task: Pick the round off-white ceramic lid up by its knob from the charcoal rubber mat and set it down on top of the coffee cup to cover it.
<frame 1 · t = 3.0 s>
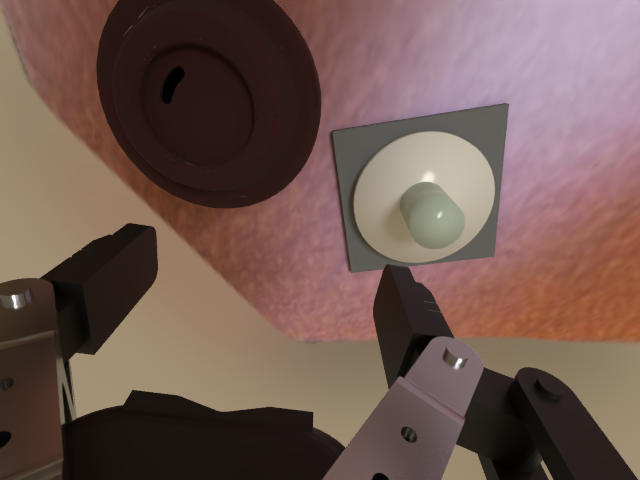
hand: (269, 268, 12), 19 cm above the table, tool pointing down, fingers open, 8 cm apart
coffee cup: (264, 88, 27), on the table
mat: (418, 197, 30), on the table
lid: (419, 199, 30), point 1 cm above the table, touching mat
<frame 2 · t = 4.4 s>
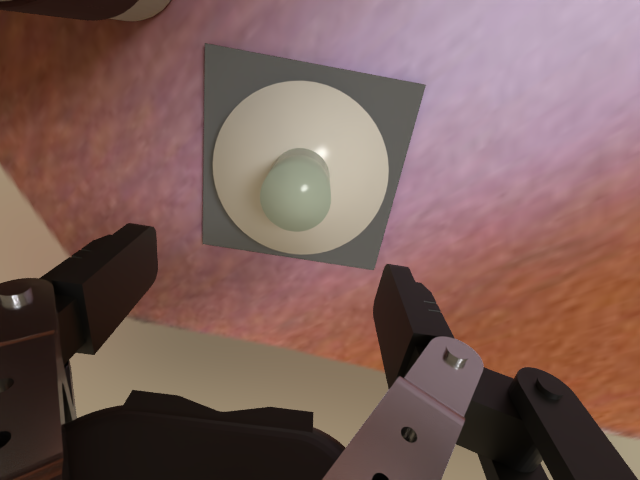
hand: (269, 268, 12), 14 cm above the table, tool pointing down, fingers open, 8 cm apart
mat: (302, 171, 24), on the table
lid: (301, 173, 24), point 1 cm above the table, touching mat
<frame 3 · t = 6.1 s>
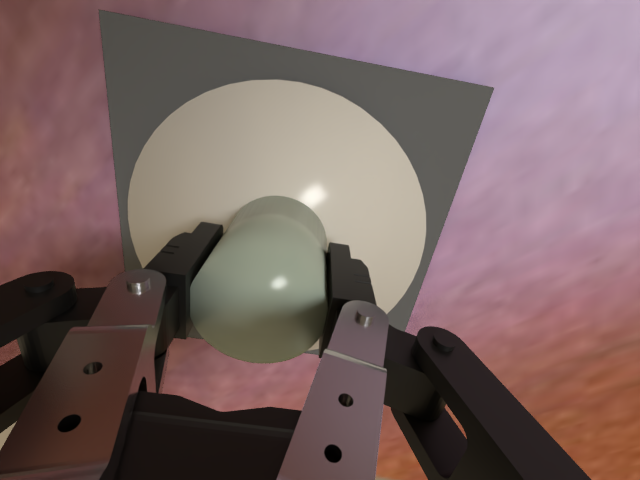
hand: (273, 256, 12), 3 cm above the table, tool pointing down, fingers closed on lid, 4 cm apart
mat: (282, 224, 15), on the table
lid: (281, 230, 15), point 1 cm above the table, touching gripper, mat
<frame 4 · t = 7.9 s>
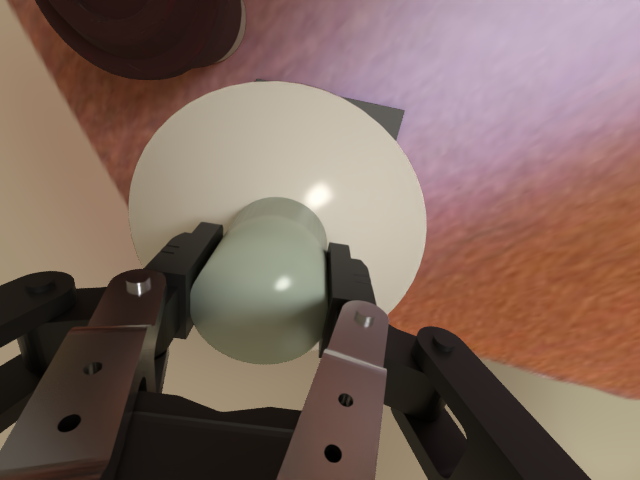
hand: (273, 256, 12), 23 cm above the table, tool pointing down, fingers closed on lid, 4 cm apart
coffee cup: (205, 16, 29), on the table
mat: (317, 167, 34), on the table
lid: (281, 231, 15), point 21 cm above the table, touching gripper
when the fingers open (19 cm above the table, at t = 10.1 s): lid drops 1 cm, resting on coffee cup.
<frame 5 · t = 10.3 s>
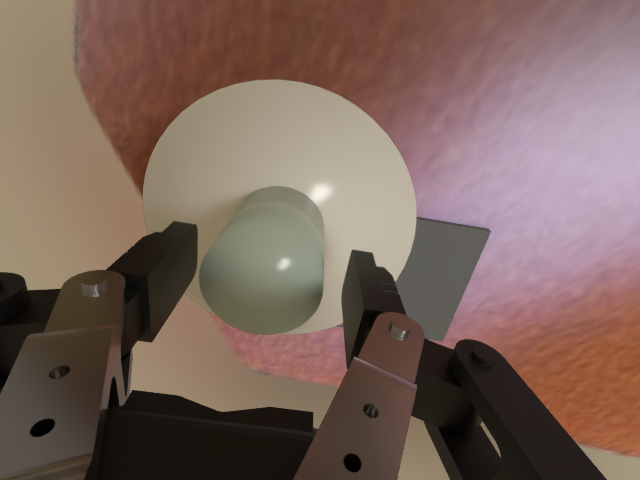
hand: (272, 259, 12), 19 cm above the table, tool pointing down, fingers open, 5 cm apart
mat: (399, 278, 35), on the table
lid: (283, 219, 16), point 15 cm above the table, touching coffee cup
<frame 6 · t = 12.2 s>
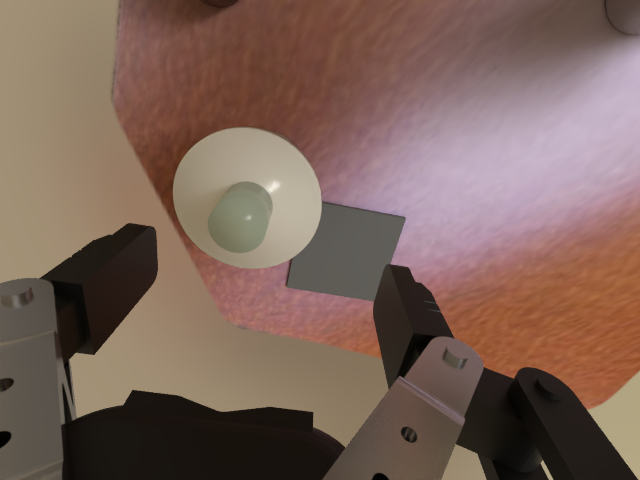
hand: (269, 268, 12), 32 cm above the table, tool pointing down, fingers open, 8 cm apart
mat: (343, 252, 47), on the table
lid: (250, 200, 28), point 15 cm above the table, touching coffee cup
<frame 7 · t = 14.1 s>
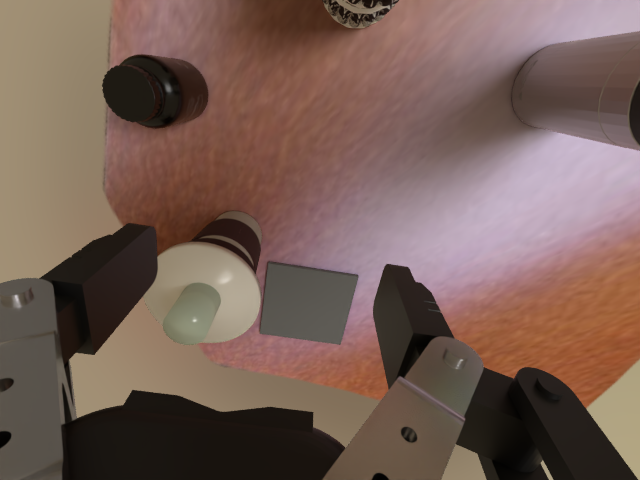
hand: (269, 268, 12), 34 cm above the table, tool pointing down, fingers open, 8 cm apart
coffee cup: (238, 232, 49), on the table, touching lid
mat: (306, 304, 54), on the table
supplement bottle: (182, 90, 41), on the table
lid: (205, 292, 35), point 15 cm above the table, touching coffee cup
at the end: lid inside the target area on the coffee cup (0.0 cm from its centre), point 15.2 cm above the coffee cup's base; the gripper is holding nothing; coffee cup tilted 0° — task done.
